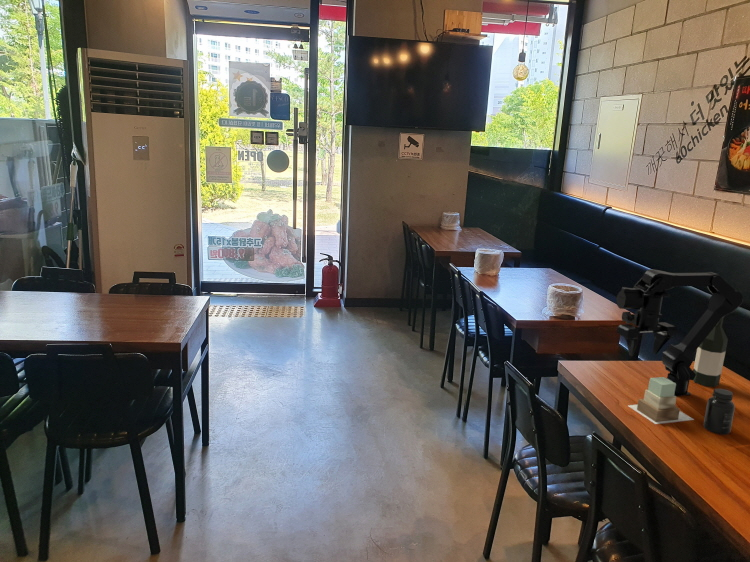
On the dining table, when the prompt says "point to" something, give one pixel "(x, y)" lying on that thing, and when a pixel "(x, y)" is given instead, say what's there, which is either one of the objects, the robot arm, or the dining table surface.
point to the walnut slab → (657, 412)
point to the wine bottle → (711, 357)
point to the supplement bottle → (719, 412)
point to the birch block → (659, 400)
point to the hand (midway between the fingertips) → (642, 354)
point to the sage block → (661, 387)
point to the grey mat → (681, 418)
